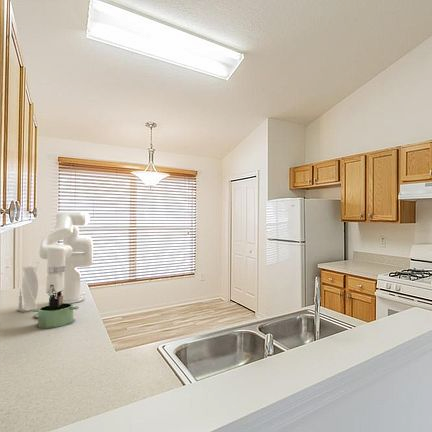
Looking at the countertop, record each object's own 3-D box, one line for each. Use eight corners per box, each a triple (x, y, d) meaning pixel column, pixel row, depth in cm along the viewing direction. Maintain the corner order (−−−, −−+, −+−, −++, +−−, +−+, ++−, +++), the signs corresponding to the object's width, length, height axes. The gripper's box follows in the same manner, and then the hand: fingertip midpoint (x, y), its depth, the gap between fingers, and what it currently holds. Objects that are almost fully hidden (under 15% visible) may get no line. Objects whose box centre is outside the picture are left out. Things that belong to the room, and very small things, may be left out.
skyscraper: (34, 306, 195) (34, 261, 195) (41, 308, 191) (41, 262, 191) (17, 310, 187) (18, 263, 187) (24, 312, 183) (24, 264, 183)
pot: (40, 320, 170) (40, 304, 170) (82, 317, 175) (82, 301, 175) (25, 329, 156) (25, 312, 156) (72, 326, 161) (72, 309, 161)
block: (52, 304, 167) (53, 295, 167) (63, 304, 168) (63, 295, 168) (48, 307, 163) (48, 298, 163) (59, 306, 164) (59, 297, 164)
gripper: (55, 267, 173) (55, 301, 173) (39, 273, 156) (39, 310, 156) (70, 267, 175) (70, 300, 175) (57, 272, 158) (57, 309, 158)
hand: (56, 304), depth 165 cm, fingers closed on block, 4 cm apart
